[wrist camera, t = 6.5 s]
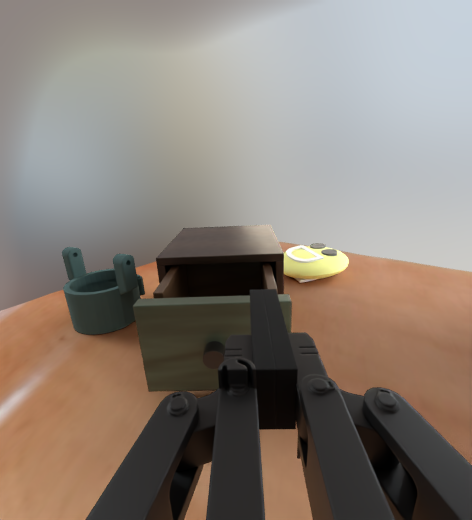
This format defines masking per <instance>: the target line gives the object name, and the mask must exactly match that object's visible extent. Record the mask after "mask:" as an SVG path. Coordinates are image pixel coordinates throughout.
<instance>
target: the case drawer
mask: <svg viewBox="0 0 472 520" xmlns="http://www.w3.org/2000/svg"><path fill="white" fill-rule="evenodd" d="M261 289H276V291H277V293H278V290H277V286H276V282H275V279H274V275H273V272H272V268H271V265H270V262H242V263H215V264H187V265H172V267H171V268H170V270H169V271H168V273H167V274H166V276H165V277H164V278H163V280H162V281H161V283H160V284H159V286H158V287H157V289H156V290H155V292H154V293H153V295H154V298H153V299H138V300H137V302H136V303H135V304H134V305H133V310H134V315H135V320H136V326H137V331H138V337H139V342H140V347H141V353H142V358H143V364H144V369H145V374H146V380H147V385H148V391H149V392H153V391H203V390H217V389H218V388H219V380H218V368H219V366H220V364H221V363H222V362H223V361H224V355H225V344H226V341H227V339H228V338H229V337H230V335H250V334H251V326H250V290H261ZM278 298H279V302H280V306H281V309H282V313H283V317H284V320H285V324H286V328H287V331H288V333H291V308H292V301H291V299H290V296H289V294H278Z"/></svg>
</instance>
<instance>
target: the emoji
mask: <svg viewBox="0 0 472 520" xmlns="http://www.w3.org/2000/svg"><path fill="white" fill-rule="evenodd" d="M348 263H349V261H348V258H347V256H346V255H344V254H343V253H342V252H340V251H338V250H335V249H331V248H326V247H325V245H324V244H321V243H316V244H312V245H310V247H305V246H303V245H301V246H296V247H292V248H289V249H288V250H287V251H286V252H284V275H287V276H289V277H294V278H295V279H296V280H297V281H298V282H300V283H301V282H308V281H313V280H316V279H320V278H326V277H329V276H333V275H336V274H338V273H340V272H342V271H343V270H345V269H346V267H347V266H348Z"/></svg>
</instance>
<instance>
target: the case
mask: <svg viewBox="0 0 472 520" xmlns="http://www.w3.org/2000/svg"><path fill="white" fill-rule="evenodd" d="M156 262H157V269H158V276H159V282H160V283H161V281H162V280H163V278H164V277H165V276H166V274H167V273H168V271H169V270H170V268H171V267H172V265H187V264H215V263H242V262H270V265H271V268H272V272H273V275H274V279H275V282H276V286H277V290H278V293H277V295H278V294H284V253H283V251H282V248H281V246H280V244H279V242H278V240H277V238H276V236H275V233H274V232H273V229H272V227H271V225H254V226H228V227H204V228H183V230H182V231H181V232H180V233H179V234H178V235H177V236H176V237H175V238H174V239H173V240H172V241H171V243H170V244H169V245H168V246H167V247H166V248H165V249H164V250H163V251H162V252H161V253H160V255H159V256H158V257H157V258H156Z"/></svg>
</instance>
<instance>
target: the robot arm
mask: <svg viewBox="0 0 472 520" xmlns="http://www.w3.org/2000/svg"><path fill="white" fill-rule="evenodd" d="M250 326H251V334H250V335H230V337H229V338H228V339H227V341H226V344H225V355H224V361H223V362H222V363H221V364H220V366H219V368H218V380H219V388H218V389H217V390H216V391H215V392H213V393H212V394H210V395H207V396H204V397H201V398H196V397H195V396H194V395H193V394H192V393H189V392H186V391H179V392H175V393H172V394H170V395H168V396H167V397H165V398H164V399H163V401H162V402H161V403H160V404H159V406H158V407H157V409H156V410H155V412H154V414H153V415H152V417H151V418H150V420H149V421H148V423H147V425H146V426H145V428H144V429H143V431H142V432H141V434H140V435H139V437H138V439H137V440H136V442H135V443H134V445H133V446H132V448H131V450H130V451H129V453H128V454H127V456H126V457H125V459H124V460H123V462H122V464H121V465H120V467H119V468H118V470H117V471H116V473H115V475H114V476H113V478H112V479H111V481H110V482H109V484H108V485H107V487H106V489H105V490H104V492H103V493H102V495H101V496H100V498H99V500H98V501H97V503H96V504H95V506H94V507H93V509H92V510H91V512H90V514H89V515H88V517H87V518H86V520H184V518H185V515H186V512H187V510H188V507H189V504H190V501H191V499H192V496H193V493H194V491H195V488H196V485H197V482H198V480H199V477H200V474H201V471H202V469H203V464H206V463H209V462H211V461H212V465H211V475H210V485H209V495H208V505H207V515H206V520H265V509H264V494H263V479H262V464H261V449H260V434H259V429H296V423H297V428H298V448H297V458H300V456H301V461H302V466H303V472H304V477H305V482H306V487H307V492H308V497H309V502H310V507H311V512H312V517H313V520H472V465H471V464H470V463H469V462H468V461H467V460H466V459H465V458H464V457H463V456H462V455H461V454H459V453H458V452H457V451H456V450H455V449H454V448H453V447H452V446H451V445H450V444H449V443H448V442H447V441H446V440H445V439H444V438H443V437H442V436H441V435H440V434H439V433H438V432H437V431H436V430H435V429H434V428H433V427H432V426H431V425H430V424H429V423H428V422H427V421H426V420H425V419H424V418H423V417H422V416H421V415H420V414H419V413H418V412H417V411H416V410H415V409H414V408H413V407H412V406H411V405H410V404H409V403H408V402H407V401H406V400H405V399H404V398H403V397H401V396H400V395H399V394H397V393H396V392H394V391H391V390H389V389H385V388H381V387H377V388H371V389H369V390H367V391H366V393H365V394H364V396H361V395H356V394H352V393H348V392H345V391H343V390H341V389H339V388H338V386H337V384H336V383H335V382H334V381H333V380H332V379H330V378H329V377H328V375H327V373H326V370H325V368H324V365H323V363H322V361H321V358H320V356H319V354H318V351H317V348H316V346H315V343H314V341H313V339H312V338H311V337H310V336H309V335H308V334H307V333H288V331H287V328H286V324H285V320H284V317H283V313H282V309H281V306H280V302H279V298H278V295H277V291H276V289H261V290H250Z"/></svg>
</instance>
